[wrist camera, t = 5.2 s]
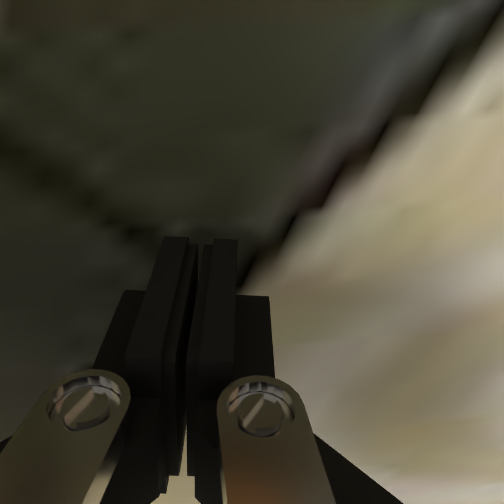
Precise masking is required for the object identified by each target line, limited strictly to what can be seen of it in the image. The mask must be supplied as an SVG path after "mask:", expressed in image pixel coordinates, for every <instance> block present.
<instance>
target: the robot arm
mask: <svg viewBox="0 0 504 504" xmlns="http://www.w3.org/2000/svg"><path fill="white" fill-rule="evenodd" d="M237 245H238V240H229V239H214V245H206V244H205V246H204V252H203V258H202V264H201V270H200V276H199V282H198V244H189V237H168V236H165V237H164V239H163V242H162V245H161V248H160V251H159V254H158V257H157V260H156V263H155V266H154V269H153V272H152V275H151V277H150V280H149V283H148V286H147V289H146V291H136V290H126V291H124V293H123V294H122V297H121V299H120V301H119V304H118V306H117V309H116V311H115V314H114V316H113V319H112V321H111V323H110V326H109V328H108V331H107V333H106V336H105V338H104V341H103V343H102V345H101V348H100V350H99V353H98V355H97V358H96V360H95V363H94V365H93V367H92V369H89V370H84V371H78V372H75V373H72V374H70V375H67V376H65V377H62V378H61V379H59V380H58V381H56V382H55V383H53V384H52V385H51V386H50V387H49V388H48V389H47V390H46V391H45V392H44V393H43V394H42V395H41V397H40V398H39V400H38V401H37V402H36V404H35V405H34V407H33V408H32V410H31V411H30V412H29V414H28V415H27V417H26V418H25V419H24V421H23V422H22V424H21V425H20V426H19V428H18V429H17V431H16V432H15V433H14V435H12V436H11V437H9V438H7V439H5V440H3V441H2V442H0V504H150V503H151V502H153V501H154V500H155V499H156V498H158V497H159V495H160V493H165V494H166V492H167V486H168V479H169V475H172V476H179V473H180V467H181V460H182V453H183V445H184V438H185V431H186V424H187V475H188V476H195V498H196V499H197V500H198V501H199V502H200V503H201V504H403V503H402V502H401V501H399V500H398V499H397V498H396V497H394V496H393V495H392V494H391V493H389V492H388V491H387V490H385V489H384V488H383V487H382V486H380V485H379V484H378V483H376V482H375V481H374V480H373V479H371V478H370V477H369V476H367V475H366V474H365V473H364V472H362V471H361V470H360V469H358V468H357V467H356V466H355V465H353V464H352V463H351V462H350V461H348V460H347V459H346V458H344V457H343V456H342V455H341V454H339V453H338V452H337V451H335V450H334V449H333V448H332V447H330V446H329V445H328V444H326V443H325V442H324V441H323V440H321V439H320V438H319V437H318V436H316V435H315V434H314V433H313V431H312V428H311V425H310V422H309V419H308V416H307V413H306V410H305V407H304V404H303V402H302V400H301V398H300V396H299V394H298V393H297V392H296V391H295V390H294V389H293V388H292V387H291V386H290V385H288V384H286V383H284V382H283V381H281V380H279V379H276V378H275V371H274V357H273V343H272V330H271V316H270V302H269V297H268V296H249V295H236V273H237Z"/></svg>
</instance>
